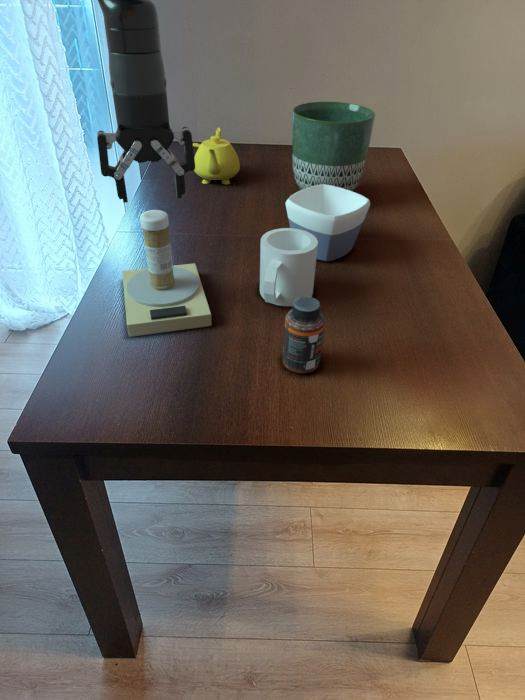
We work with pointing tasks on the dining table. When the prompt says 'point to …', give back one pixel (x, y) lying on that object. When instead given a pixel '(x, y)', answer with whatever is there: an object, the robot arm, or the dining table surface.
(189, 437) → the dining table surface
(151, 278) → the sprinkles bottle
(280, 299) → the mug
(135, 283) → the scale
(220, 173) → the teapot
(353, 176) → the planter
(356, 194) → the bowl
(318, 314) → the supplement bottle
